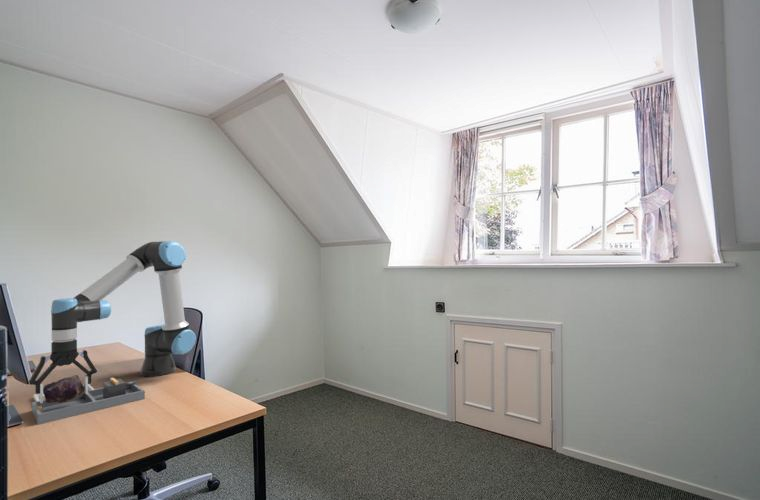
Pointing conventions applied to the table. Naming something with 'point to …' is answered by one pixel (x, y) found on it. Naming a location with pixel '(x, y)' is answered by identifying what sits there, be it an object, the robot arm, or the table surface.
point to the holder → (89, 401)
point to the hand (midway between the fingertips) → (64, 397)
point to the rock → (63, 390)
